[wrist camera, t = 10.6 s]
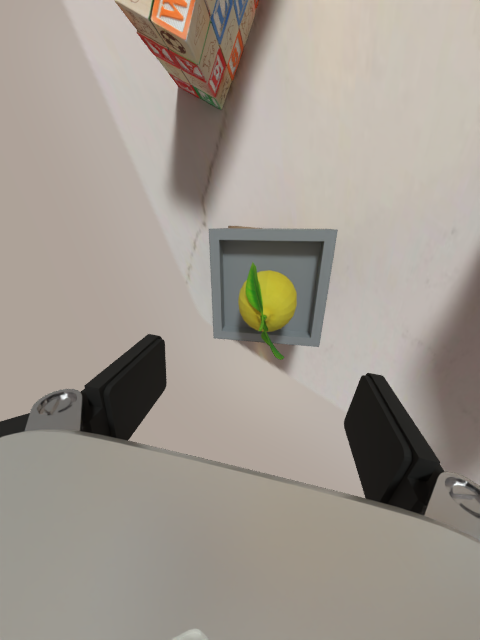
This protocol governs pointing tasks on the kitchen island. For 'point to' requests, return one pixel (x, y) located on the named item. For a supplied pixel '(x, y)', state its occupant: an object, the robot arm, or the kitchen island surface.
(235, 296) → the tower top block
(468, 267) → the kitchen island surface
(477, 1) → the kitchen island surface
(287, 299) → the lemon
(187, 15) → the stack of blocks
